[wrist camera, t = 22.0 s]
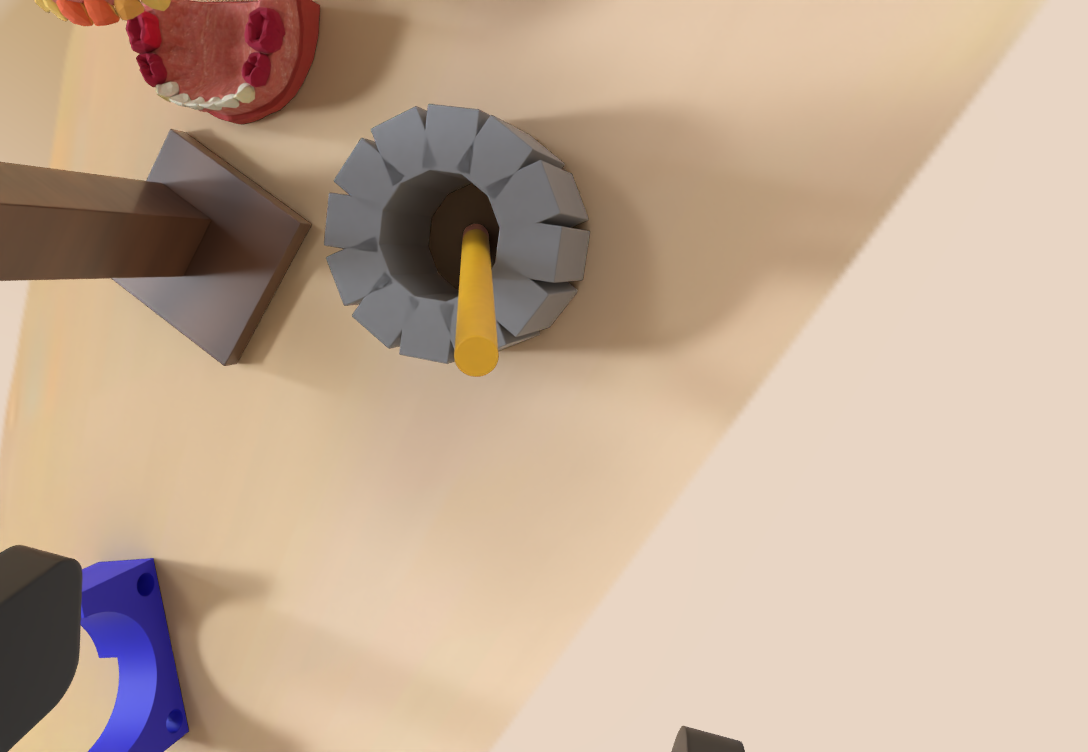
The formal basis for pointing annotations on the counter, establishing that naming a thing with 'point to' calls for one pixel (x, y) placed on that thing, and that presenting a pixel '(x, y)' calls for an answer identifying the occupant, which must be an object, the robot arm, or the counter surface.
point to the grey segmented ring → (405, 219)
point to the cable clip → (134, 655)
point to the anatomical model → (213, 49)
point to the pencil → (476, 306)
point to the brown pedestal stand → (157, 239)
